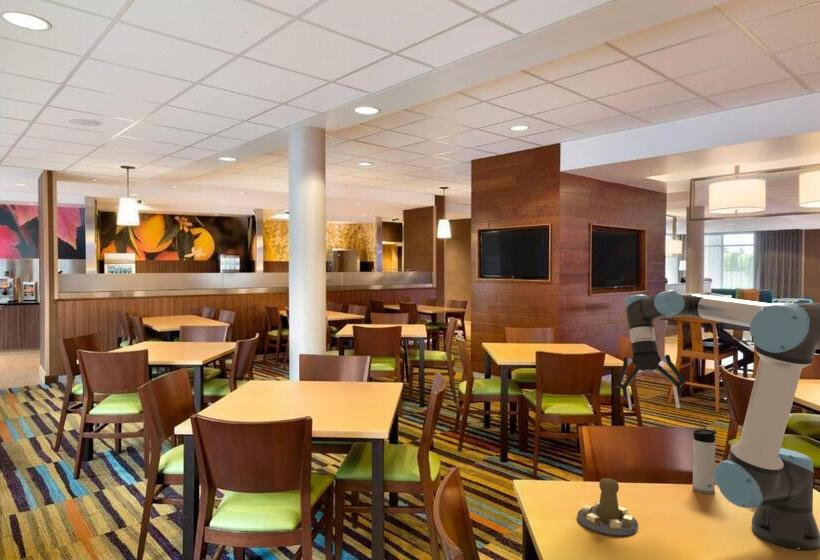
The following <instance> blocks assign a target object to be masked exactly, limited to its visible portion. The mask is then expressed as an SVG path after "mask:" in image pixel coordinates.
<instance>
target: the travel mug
mask: <svg viewBox="0 0 820 560" xmlns="http://www.w3.org/2000/svg"><path fill="white" fill-rule="evenodd" d="M717 434H718V433H717V430H713V429H708V428H707V429H705V428H702V429H695V430H694V431H693V438H692V440H693V441H692V442H693V445H692V446H693V447H692V456H693V457H692V489H693V490H694V491H695V492H697V493H699V494H703V495H713V494H715V492H716V488H715V487H716V481H715V476H714V472H715V468H716V435H717Z"/></svg>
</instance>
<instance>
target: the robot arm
mask: <svg viewBox="0 0 820 560" xmlns="http://www.w3.org/2000/svg"><path fill="white" fill-rule="evenodd" d="M624 303H625V313H626V319H627V324H628V325H627V326H628V331H629V339H630V343H631V351H632V358H627V357H623V365H622V367H621V370H620V373H619V375H618V378H617V380H616V383H615V387H617V388H619V389H621V390H622V396H623V399H624V400H627V401H628V402H627V403H628V409H629V411H632V410H633V407H632V400H631V393H630V388H628V386H629V385H630V384H631V382H632V380H634V378H635V377H636V375H637V374H638V373H639V371H641V372H647V371H649V372H653V371H655V370H656V371H658V372H659V373H660V374H661V375H662V376H663V377H665V378H666V379H667V380H668V381H669V382H671V384H673V386H672V389H673V390H672V391H673V396H674V401H675V407H676V409H680V408H681V405H680V400H679V399H680V398H681V397H682V396H683V395H682V394H683V393H682V388H681V386H682V385H685V384H686V383H687V381H686V379H685V377H684V376H683V375H682V374H681V372H680V370H679V369H678V368H677V367H676V366H675V364H674V363H673V361H672V359H671V356H670V355H669V354H666V355H662V356H660V354H659V351H658V345H657V342H656V339H657V338H656V333H655V326H654V322H655V321H658V320H660V319H661V320H662V319H664V318H665V319H666V318H684V317H685V318H688V317H689V318H697V319H702V320H710V321H715V322H721V323H725V324H731V325H736V326H741V327H748V328H749V333H750V336H751V337H752V341H753V343H754V344H755V348H754V352H755V353H756V354H757V356H758V357H759V362H758V366H757V369H756V372H755V373H756V374H755V377H754V378H755V379H754V381H753V385H752V390H751V394H750V397H749V402H748V406H747V409H746V414H745V417H744V422H743V425H742V429H741V435H740V437H739V441H738V442H736V443H734V444H732V445H730V449H729V453H728V456H727V459H725V460H722V461H720V462H719V463H718V464H717V465H715V472H714V476H715V485H716V486H717V487H718V489H719V491H720V493H721V494H722V496H723V497H724V498H725V499H726V500H727V501H728V502H729V503H731V504H732V505H735V506H736V507H740V508H741V509H742V508H743V509H750V508H752V509H754V508H755V511H754V513H753V515H752V518H751V530H752V532H753V533H754V534H756V535H757V537H760V538H761V539H763V540H765V541H767V542H770V543H772V544H775V545H778V546H781V547H784V546H785V547H786V548H788V547H790V548H789V549H793V548H800V549H813V550H816V549H815V548H817V549H819V548H820V530H819V527H818V525H817V521H816V518H815V516H814V514H813V513H814V511H813V509H814V507H813V505H814V503H813V502H814V474H815V470H814V462H813V460H812V459H811V457H810V456H808V455H807V454H804V453H801V452H799V451H795V450H792V449H789V448H783V447H782V445H783V444H782V443H783V440H784V435H785V433H786V429H787V426H788V422H789V418H790V414H791V411H792V408H793V402H794V399H795V395H796V392H797V388H798V384H799V381H800V377H801V373H802V370H803V368H806V367H808V366H812V364H813V359H814V357H815V353H816V350H820V303H819V302H788V301H787V302H778V303H769V302H762V301H756V300H755V301H754V300H748V299H747V300H746V299H739V298H731V297H723V296H715V295H708V294H706V293H697V292H692V293H680V292H678V291H676V290H675V289H670V290H665V291H660V292H659V293H656V294H654V295H652V296H648V295H646V294H634V295H630V296H628V297H626V298H625V302H624ZM661 361H662V362H663V363H666V365H667V367H668V368H669V369H670V370H671V372H672V373H673V375H675V377H676V378H677V379H678V380H677V379H676V378H675V377H673V376H672V375H671V373H669V372H667V370H666V369H664V368H663V367H662V366H661V365H660V363H661ZM631 363H633V365H635V366H634V368H633V370H632V372H631V373H630V374H629V376H628V377H627V379H626V380H625V381H624V383H622V382H623V380H624V377H625V374H626V371H627V369H628V366H630V365H631ZM818 547H819V548H818ZM800 549H799V550H800Z"/></svg>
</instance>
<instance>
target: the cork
mask: <svg viewBox="0 0 820 560" xmlns="http://www.w3.org/2000/svg"><path fill="white" fill-rule="evenodd" d="M598 487H599V489H600V496H599V502H600V503H599V509H598V516H599V517H600V520H601V521H603V522H606V523H608V519H618V520H619V521H620V516H619V508H618V506H619V501H618V492H619V490H620V486H619V483H618V481H617V480H615V479H612V478H610V477H609V478H608V477H606V478H602V479H600V480H599V485H598Z"/></svg>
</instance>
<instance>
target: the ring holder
mask: <svg viewBox="0 0 820 560" xmlns="http://www.w3.org/2000/svg"><path fill="white" fill-rule="evenodd" d="M599 503H600V501H594V506H593V505H589V504H584V505H583V506H582V508H581V509H579V510H578V512H577V521H578V523H579V524H580V525H581V526H582V527H584V528H586V529H587V530H589V531H591V532H592V533H593V532H594V533H596V534H600V535H603V536H607V537H616V538H617V537H621V538H623V537H629V536H632V535H634V534H636V533H637V532H638V530H639V523H638V520H637V519H636V518H635V517H633V515H631V514H629V513H628V508H625V507H623V506H621V505H618V508H619V516H620V521H619V520H618V519H608V523H606V522H603V521H601V520H600V517H599V516H598V509H599Z"/></svg>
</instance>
